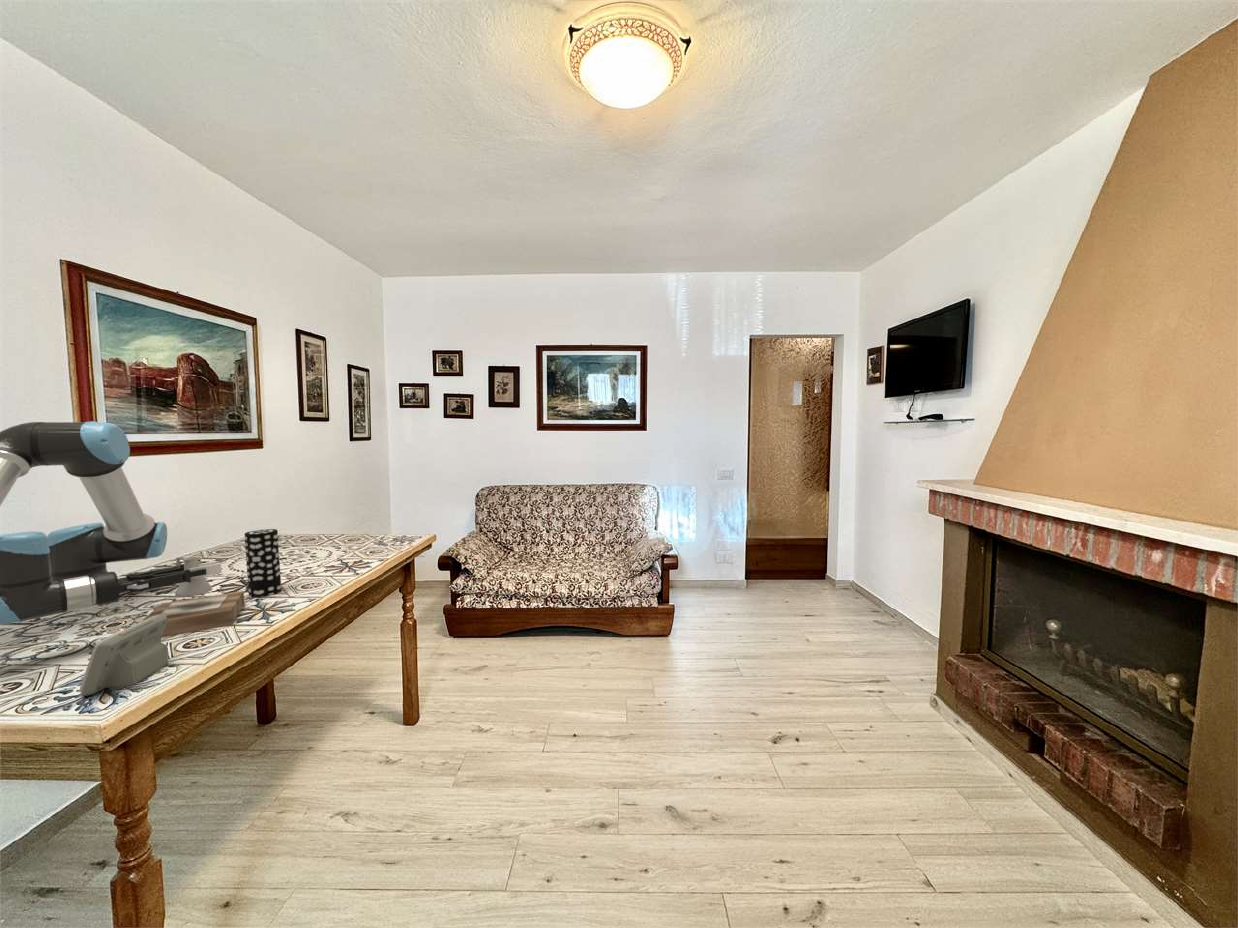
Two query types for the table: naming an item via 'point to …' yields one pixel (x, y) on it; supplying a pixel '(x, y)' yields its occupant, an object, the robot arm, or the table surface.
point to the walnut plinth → (200, 613)
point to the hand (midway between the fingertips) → (218, 566)
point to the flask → (192, 581)
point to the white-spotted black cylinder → (263, 562)
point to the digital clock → (126, 656)
